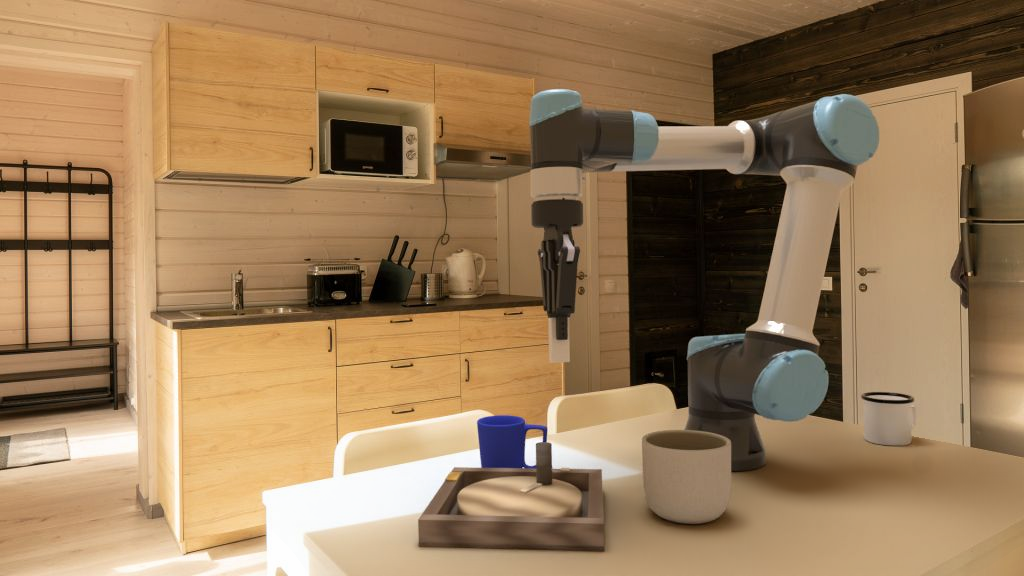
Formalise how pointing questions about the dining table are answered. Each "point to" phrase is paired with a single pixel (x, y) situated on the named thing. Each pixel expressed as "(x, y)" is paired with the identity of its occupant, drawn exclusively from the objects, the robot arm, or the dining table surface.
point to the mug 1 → (504, 441)
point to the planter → (687, 474)
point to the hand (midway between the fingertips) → (559, 361)
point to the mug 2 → (888, 418)
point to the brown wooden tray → (514, 531)
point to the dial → (523, 493)
